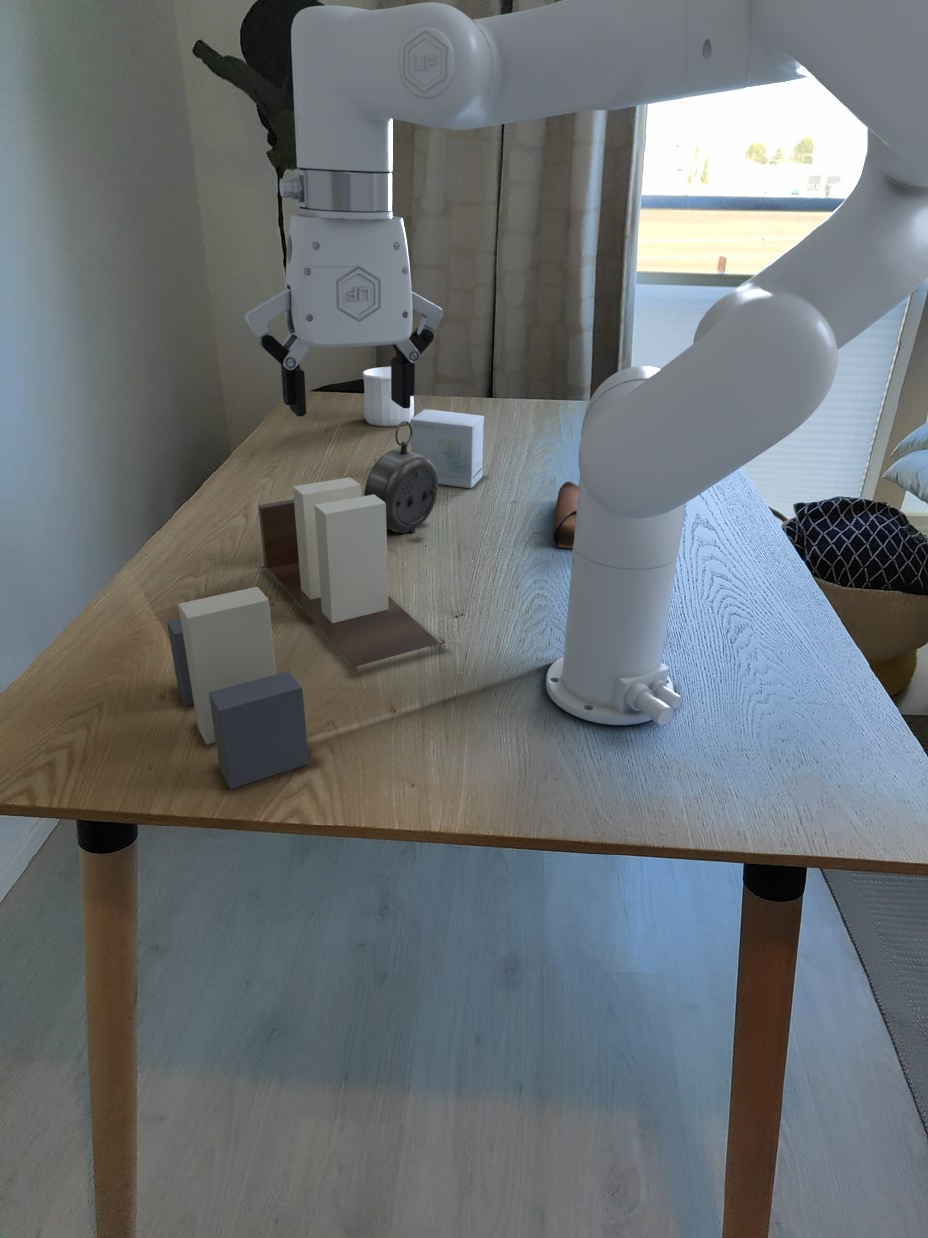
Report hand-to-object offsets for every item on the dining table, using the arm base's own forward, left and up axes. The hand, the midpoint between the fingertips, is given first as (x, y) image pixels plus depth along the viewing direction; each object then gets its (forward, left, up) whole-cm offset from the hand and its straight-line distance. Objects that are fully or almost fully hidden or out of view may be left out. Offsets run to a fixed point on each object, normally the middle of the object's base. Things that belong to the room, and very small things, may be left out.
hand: (350, 408), depth 77 cm
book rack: (+12, -4, -27) cm, 30 cm away
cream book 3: (+9, -4, -26) cm, 28 cm away
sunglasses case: (+20, -44, -27) cm, 55 cm away
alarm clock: (+28, -20, -27) cm, 44 cm away
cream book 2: (+16, -4, -26) cm, 31 cm away
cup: (+82, -44, -27) cm, 97 cm away
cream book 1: (-5, +14, -27) cm, 31 cm away
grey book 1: (+2, +14, -27) cm, 31 cm away
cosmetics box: (+46, -37, -27) cm, 65 cm away
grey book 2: (-12, +14, -27) cm, 33 cm away
